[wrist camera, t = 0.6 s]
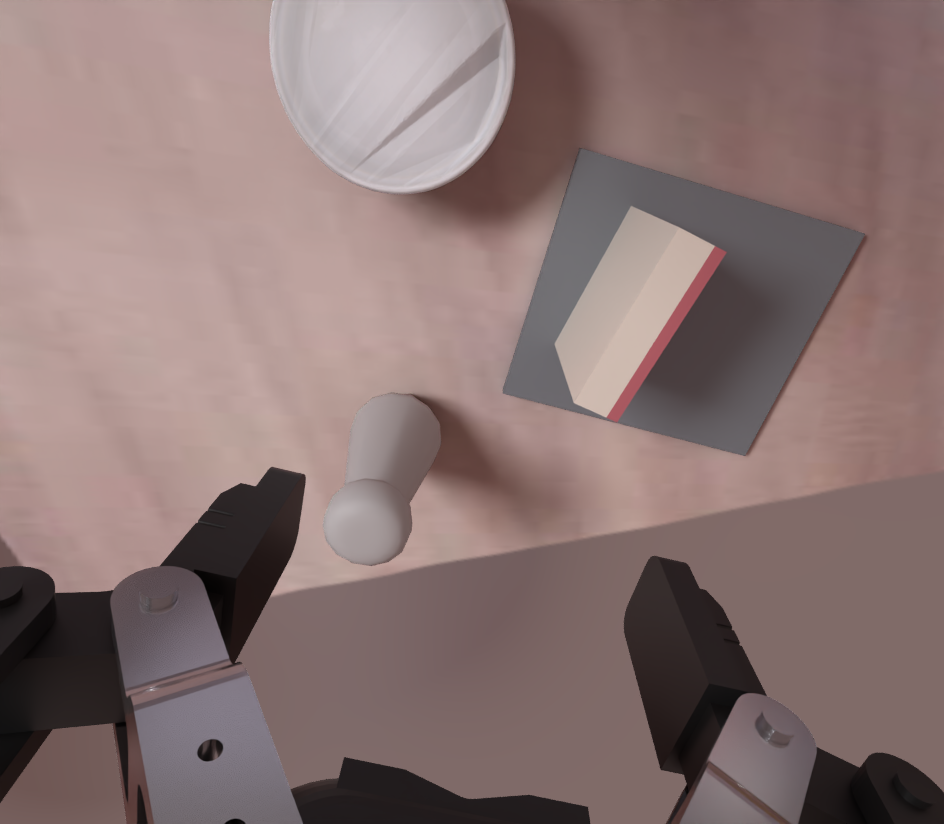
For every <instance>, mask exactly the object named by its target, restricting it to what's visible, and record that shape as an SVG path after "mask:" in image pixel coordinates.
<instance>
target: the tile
mask: <svg viewBox="0 0 944 824" xmlns="http://www.w3.org/2000/svg"><path fill="white" fill-rule="evenodd" d="M726 253H727V252H725V251H724V250H722V249H720V248H718V247H716V246H714V245H712V244H710V243H708V242H706V241H704V240H703V239H701V238H699V237H697V236H695V235H693V234H691V233H689V232H687V231H685V230H683V229H681V228H680V227H677V226H675V225H673V224H671V223H668V222H666V221H664V220H662V219H659V218H657V217H655V216H653V215H651V214H648V213H646V212H644V211H642V210H639V209H637V208H635V207H633V206H631V207H630V209H629V211H628V213H627V214H626V216H625V218H624V220H623V222H622V223H621V225H620V227H619V229H618V231H617V232H616V234H615V236H614V238H613V240H612V241H611V243H610V245H609V247H608V249H607V250H606V252H605V254H604V256H603V258H602V259H601V261H600V263H599V265H598V267H597V268H596V270H595V272H594V274H593V276H592V277H591V279H590V281H589V283H588V285H587V286H586V288H585V290H584V292H583V294H582V295H581V297H580V299H579V301H578V303H577V304H576V306H575V308H574V310H573V312H572V313H571V315H570V317H569V319H568V321H567V322H566V324H565V326H564V328H563V329H562V331H561V333H560V335H559V337H558V338H557V340H556V342H555V347H556V350H557V353H558V356H559V359H560V362H561V365H562V368H563V371H564V374H565V378H566V381H567V384H568V387H569V390H570V393H571V396H572V399H573V402H574V403H575V404H577V405H579V406H582V407H584V408H586V409H588V410H590V411H593V412H595V413H597V414H599V415H602V416H604V417H606V418H608V419H610V420H613V421H615V422H618V420H619V419H620V417H621V415H622V414H623V412H624V411H625V409H626V408H627V406H628V405H629V403H630V402H631V400H632V398H633V397H634V395H635V394H636V392H637V391H638V389H639V388H640V386H641V384H642V383H643V381H644V380H645V378H646V377H647V375H648V374H649V372H650V370H651V369H652V367H653V366H654V364H655V363H656V361H657V360H658V358H659V357H660V355H661V353H662V352H663V350H664V349H665V347H666V346H667V344H668V343H669V341H670V339H671V338H672V336H673V335H674V333H675V332H676V330H677V329H678V327H679V326H680V324H681V322H682V321H683V319H684V318H685V316H686V315H687V313H688V312H689V310H690V308H691V307H692V305H693V304H694V302H695V301H696V299H697V298H698V296H699V295H700V293H701V291H702V290H703V288H704V287H705V285H706V284H707V282H708V281H709V279H710V277H711V276H712V274H713V273H714V271H715V270H716V268H717V267H718V265H719V264H720V262H721V260H722V259H723V257H724V256H725V254H726Z"/></svg>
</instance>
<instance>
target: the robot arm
mask: <svg viewBox="0 0 944 824" xmlns="http://www.w3.org/2000/svg"><path fill="white" fill-rule="evenodd" d="M305 481H306V477H305V475H304V474H301V473H296V472H292V471H288V470H283V469H279V468H275V467H271V468H270V469H269V470H268V471H267V472H266V474H265V475H264V476H263V478H262V479H261V480H260V482H259V483H258V484H257V486H256V487H255V486H251V485H247V484H242V483H240V484H238V485H237V486H235V487H233V488H231V489H229V490H227V491H225V492H223V493H221V494H220V495H219V496H218V498H217V499H216V500H215V501H214V502H213V503H212V505H211V506H210V507H209V509H208V511H206V512H205V513H204V514H203V515H202V517H201V518H200V519H199V520H198V523H196V524H195V525H194V526H193V527H192V528H191V530H190V531H189V532H188V533H187V534H186V535H185V537H184V538H183V539H182V540H181V541H180V543H179V544H178V545H177V546H176V547H175V548H174V550H173V551H172V552H171V553H170V554H169V556H168V557H167V558H166V559H165V560H164V562H163V563H162V564H161V565H160V566H159V567H152V568H148V569H144V570H141V571H138V572H136V573H134V574H132V575H130V576H128V577H127V578H125V579H124V580H123V581H121V582H120V583H119V584H118V585H117V586H116V588H115V589H114V590H111V591H104V592H77V593H55V584H54V581H53V579H52V578H51V577H50V576H49V575H48V574H47V573H45V572H44V571H41V570H39V569H35V568H31V567H23V566H13V567H3V568H0V803H1V801H2V800H3V798H4V797H5V795H6V794H7V793H8V791H9V790H10V788H11V787H12V786H13V784H14V783H15V781H16V780H17V778H18V777H19V776H20V774H21V773H22V772H23V770H24V769H25V767H26V766H27V764H28V763H29V762H30V760H31V759H32V757H33V756H34V755H35V753H36V752H37V751H38V749H39V748H40V746H41V745H42V743H43V742H44V741H45V739H46V738H47V736H48V735H49V734H50V732H51V731H52V729H57V728H68V727H78V726H89V725H99V724H109V723H112V725H113V732H114V739H115V746H116V753H117V760H118V767H119V774H120V781H121V788H122V795H123V802H124V809H125V816H126V824H590V818H589V811H588V807H585V806H581V805H576V804H571V803H566V802H561V801H556V800H551V799H546V798H541V797H536V796H532V795H522V796H508V797H497V798H496V797H495V798H483V799H466V798H463V797H460V796H458V795H456V794H454V793H452V792H450V791H448V790H446V789H444V788H442V787H440V786H438V785H436V784H433V783H432V782H429V781H427V780H425V779H423V778H421V777H419V776H417V775H415V774H413V773H411V772H409V771H407V770H404V769H399V768H394V767H390V766H384V765H380V764H375V763H369V762H365V761H360V760H355V759H350V758H346V757H345V758H344V760H343V764H342V768H341V772H340V776H339V778H337V779H326V780H320V781H316V782H311V783H308V784H305V785H302V786H299V787H296V788H293V789H290V787H289V784H288V781H287V779H286V776H285V773H284V770H283V768H282V765H281V762H280V760H279V757H278V754H277V751H276V749H275V746H274V743H273V740H272V738H271V735H270V733H269V730H268V727H267V724H266V721H265V719H264V716H263V713H262V711H261V708H260V705H259V702H258V700H257V697H256V694H255V692H254V689H253V686H252V683H251V681H250V678H249V675H248V673H247V670H246V668H245V667H244V665H243V664H242V663H241V662H237V663H235V661H236V659H237V658H238V655H239V654H240V652H241V650H242V648H243V646H244V644H245V642H246V640H247V639H248V637H249V635H250V633H251V631H252V629H253V627H254V625H255V624H256V622H257V620H258V618H259V616H260V614H261V612H262V610H263V608H264V607H265V605H266V603H267V601H268V599H269V597H270V595H271V593H272V592H273V590H274V588H275V586H276V584H277V582H278V580H279V578H280V576H281V575H282V573H283V571H284V569H285V567H286V565H287V563H288V561H289V559H290V557H291V555H292V552H293V550H294V547H295V543H296V540H297V536H298V530H299V524H300V517H301V510H302V503H303V496H304V489H305ZM624 633H625V638H626V641H627V645H628V649H629V653H630V656H631V660H632V664H633V667H634V671H635V675H636V679H637V682H638V686H639V690H640V694H641V698H642V701H643V705H644V709H645V713H646V716H647V720H648V724H649V728H650V731H651V735H652V739H653V743H654V746H655V750H656V754H657V758H658V761H659V765H660V769H661V770H664V771H669V772H674V773H679V774H683V775H684V776H685V780H686V783H687V785H686V786H685V788H684V790H683V791H682V793H681V795H680V796H679V798H678V800H677V802H676V804H675V806H674V808H673V810H672V812H671V814H670V816H669V818H668V820H667V822H666V824H944V792H943V791H942V790H941V789H940V788H939V787H938V786H937V785H936V784H935V783H934V782H933V781H932V780H931V779H930V778H929V777H927V776H926V775H925V774H924V773H922V772H921V771H920V770H919V769H917V768H916V767H914V766H913V765H911V764H909V763H908V762H906V761H904V760H902V759H900V758H898V757H896V756H893V755H890V754H885V753H874V754H871V755H870V756H868V758H867V759H866V760H865V762H864V763H863V764H862V766H861V767H860V768H859V767H857V766H855V765H853V764H851V763H848V762H846V761H844V760H842V759H840V758H838V757H836V756H834V755H832V754H830V753H828V752H825V751H824V750H821V749H820V748H818V747H816V743H815V741H814V738H813V736H812V734H811V733H810V731H809V729H808V728H807V727H806V725H805V724H804V723H803V722H802V721H801V720H800V719H799V717H798V716H797V715H795V714H794V713H793V712H792V711H791V710H789V709H788V708H787V707H785V706H784V705H783V704H781V703H779V702H778V701H776V700H774V699H772V698H770V697H767V695H766V693H765V691H764V689H763V687H762V685H761V683H760V681H759V679H758V677H757V676H756V674H755V672H754V669H753V667H752V665H751V664H750V662H749V660H748V657H747V656H746V654H745V651H744V650H743V647H742V646H740V645H739V643H740V642H739V640H738V638H737V636H736V634H735V632H734V631H733V630H732V626H731V624H730V622H729V620H728V618H727V616H726V614H725V612H724V610H723V608H722V607H721V606H720V605H719V604H718V603H717V602H716V600H714V598H713V597H712V596H711V595H710V594H709V593H708V592H707V591H706V590H703V589H700V588H699V586H698V584H697V582H696V580H695V578H694V576H693V574H692V572H691V570H690V567H689V566H688V565H687V564H686V563H684V562H679V561H674V560H670V559H666V558H662V557H657V556H652V557H651V558H650V559H649V560H648V562H647V564H646V566H645V568H644V570H643V572H642V575H641V577H640V579H639V581H638V583H637V586H636V588H635V590H634V593H633V595H632V597H631V599H630V601H629V604H628V606H627V609H626V612H625V618H624Z"/></svg>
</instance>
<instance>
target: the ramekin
mask: <svg viewBox="0 0 944 824" xmlns="http://www.w3.org/2000/svg"><path fill="white" fill-rule="evenodd" d="M269 43H270V59H271V66H272V72H273V76H274V80H275V84H276V88H277V91H278V94H279V97H280V99H281V102H282V105H283V107H284V109H285V112H286V114H287V116H288V118H289V120H290V121H291V123H292V125H293V126H294V128H295V130H296V131H297V133H298V134H299V136H300V137H301V139H302V140H303V141H304V143H305V144H306V145H307V147H308V148H309V149H310V150H311V151H312V152H313V153H314V154H315V155H316V156H317V157H318V158H319V159H320V160H321V161H322V162H323V163H324V164H325V165H326V166H327V167H328V168H329V169H330V170H332V171H333V172H334V173H336V174H337V175H339V176H341V177H343V178H344V179H346V180H348V181H350V182H352V183H354V184H356V185H358V186H361V187H363V188H366V189H369V190H372V191H376V192H381V193H387V194H415V193H421V192H426V191H430V190H433V189H436V188H439V187H441V186H443V185H445V184H448V183H449V182H451V181H453V180H455V179H456V178H458V177H459V176H461V175H462V174H463V173H465V172H466V171H467V170H468V169H469V168H471V167H472V166H473V165H474V164H475V163H476V162H477V161H478V160H479V159H480V158H481V157H482V156H483V154H484V153H485V152H486V151H487V149H488V148H489V147H490V145H491V144H492V142H493V141H494V139H495V137H496V136H497V134H498V132H499V130H500V128H501V126H502V123H503V121H504V119H505V116H506V113H507V111H508V107H509V104H510V101H511V96H512V92H513V86H514V78H515V63H516V62H515V40H514V33H513V27H512V22H511V18H510V14H509V10H508V7H507V4H506V1H505V0H273V3H272V8H271V15H270V35H269Z"/></svg>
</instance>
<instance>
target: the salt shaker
mask: <svg viewBox="0 0 944 824" xmlns="http://www.w3.org/2000/svg"><path fill="white" fill-rule="evenodd" d="M440 446H441V433H440V423H439V421H438V420H437V418H436V417H435V415H434V414H433V412H432V411H431V409H430V408H429V406H427V405H426V404H424V403H423V402H421V401H419V400H418V399H416V398H415V397H414V396H413V395H412V394H398V393H388V394H385V395H381V396H377V397H373V398H372V399H371V400H370V401H369V402H367V403H366V404H365V405H364V406H363V407H362V408H361V409H360V410H359V411H358V412H357V413H356V416H355V419H354V421H353V424H352V427H351V430H350V439H349V448H348V457H347V466H346V475H345V485H344V487H342V488H341V489H340V490H339V491H338V492H337V493H335V494H334V495H333V497H332V499H331V501H330V502H329V505H328V508H327V510H326V513H325V516H324V520H323V529H324V533H325V538H326V541H327V543H328V544H329V545H330V547H331V548H332V549H333V550H334V552H335V553H336V554H337V555H339V556H341V557H342V558H344V559H346V560H348V561H350V562H352V563H356V564H362V565H369V566H373V565H377V564H382V563H386V562H389V561H390V560H392V559H393V558H394V557H396V556H397V555H399V554H400V553H401V552H402V551H403V549H404V547H405V545H406V542H407V540H408V538H409V535H410V533H411V531H412V516H411V507H410V505H409V504H410V502H411V500H412V498H413V497H414V495H415V493H416V492H417V490H418V488H419V486H420V485H421V483H422V481H423V479H424V478H425V476H426V474H427V472H428V471H429V469H430V467H431V466H432V464H433V462H434V460H435V458H436V456H437V453H438V451H439V448H440Z"/></svg>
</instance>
